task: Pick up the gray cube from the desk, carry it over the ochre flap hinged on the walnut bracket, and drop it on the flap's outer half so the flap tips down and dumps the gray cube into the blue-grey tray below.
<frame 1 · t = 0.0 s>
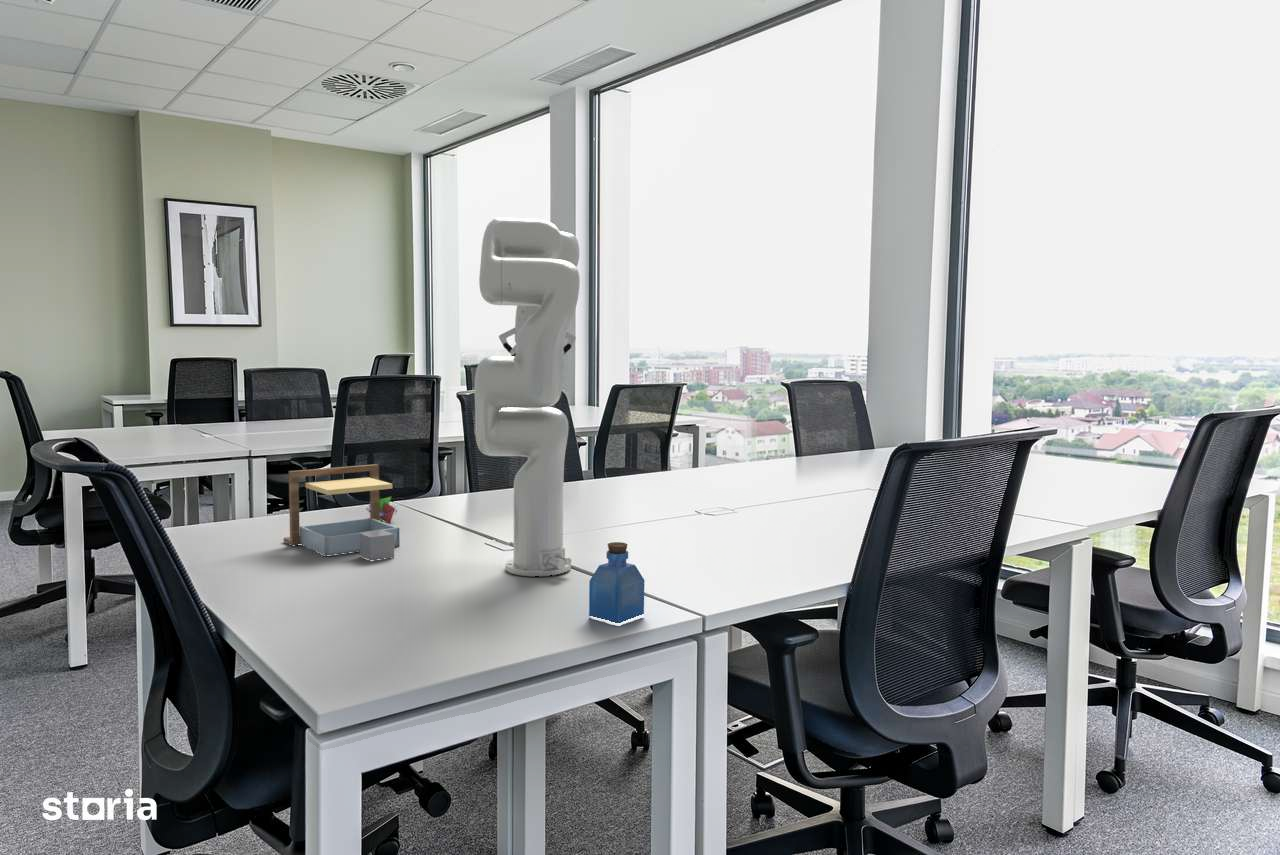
hand: (537, 372, 195), 37 cm above the table, tool pointing down, fingers open, 9 cm apart
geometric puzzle: (382, 523, 208), on the table
perfume bottle: (616, 619, 136), on the table
flap: (348, 485, 182), point 13 cm above the table, hinge at 0.0°
tray: (349, 545, 183), on the table
gray cube: (377, 557, 173), on the table
bracket: (337, 540, 188), on the table
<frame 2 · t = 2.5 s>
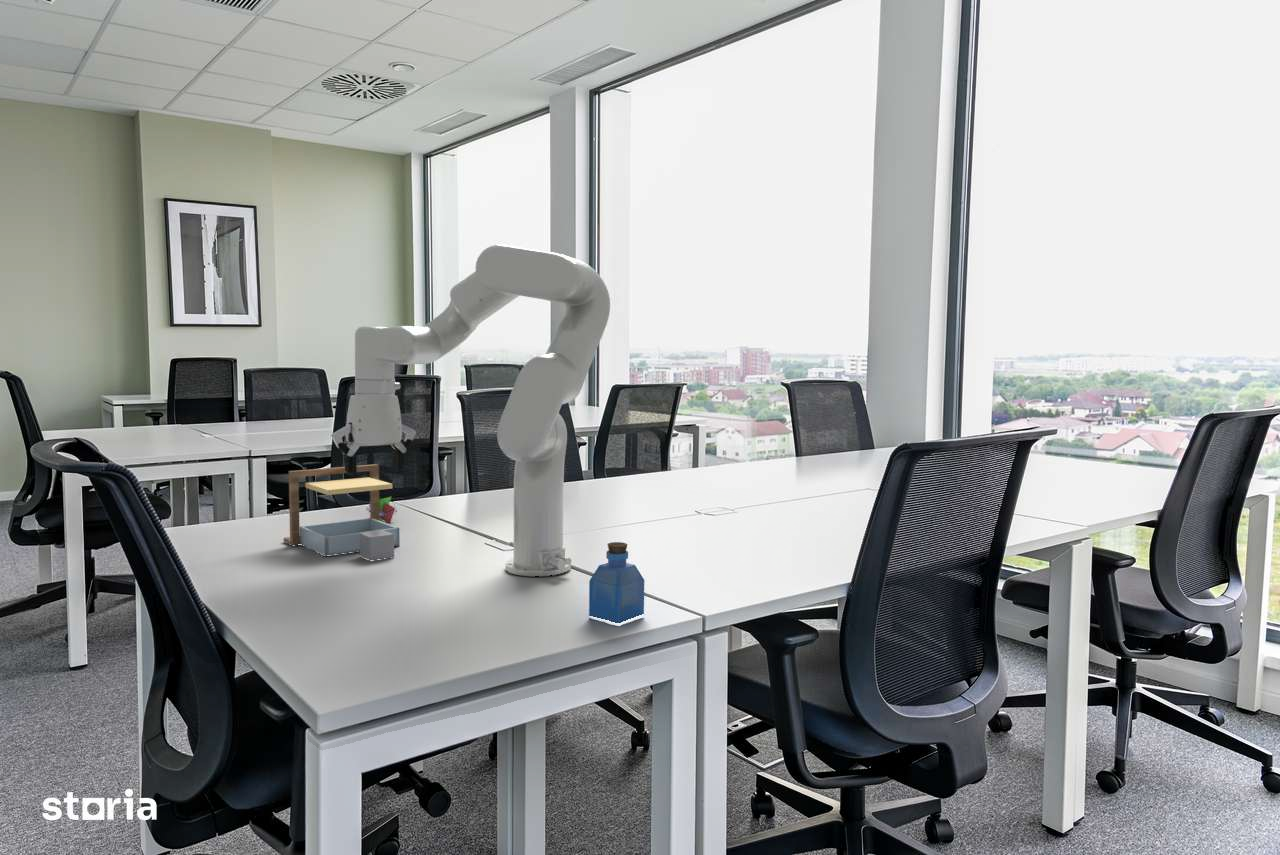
hand: (374, 473, 172), 17 cm above the table, tool pointing down, fingers open, 9 cm apart
nothing on the table moved.
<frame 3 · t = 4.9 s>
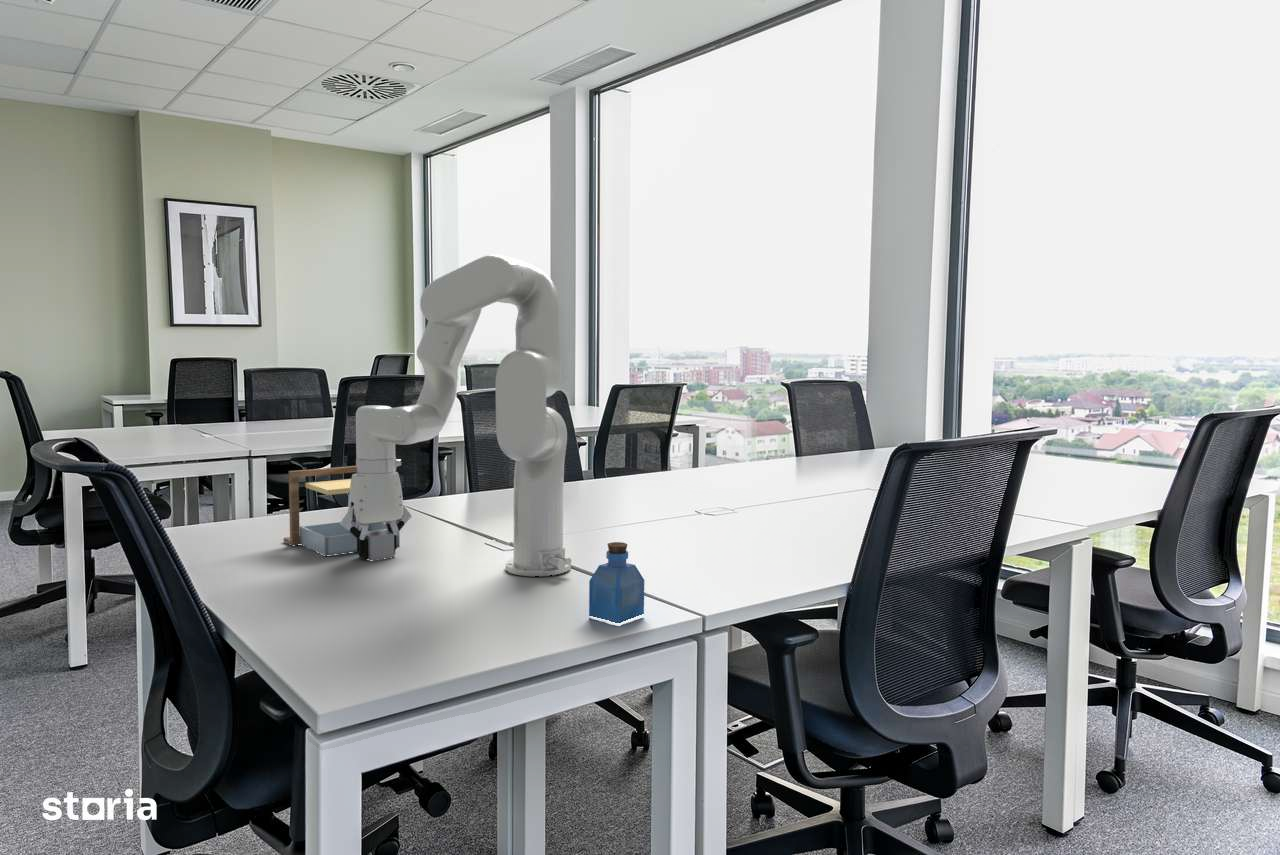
hand: (377, 554, 173), 1 cm above the table, tool pointing down, fingers closed on gray cube, 5 cm apart
gray cube: (377, 557, 173), on the table, touching gripper
everything else where it was.
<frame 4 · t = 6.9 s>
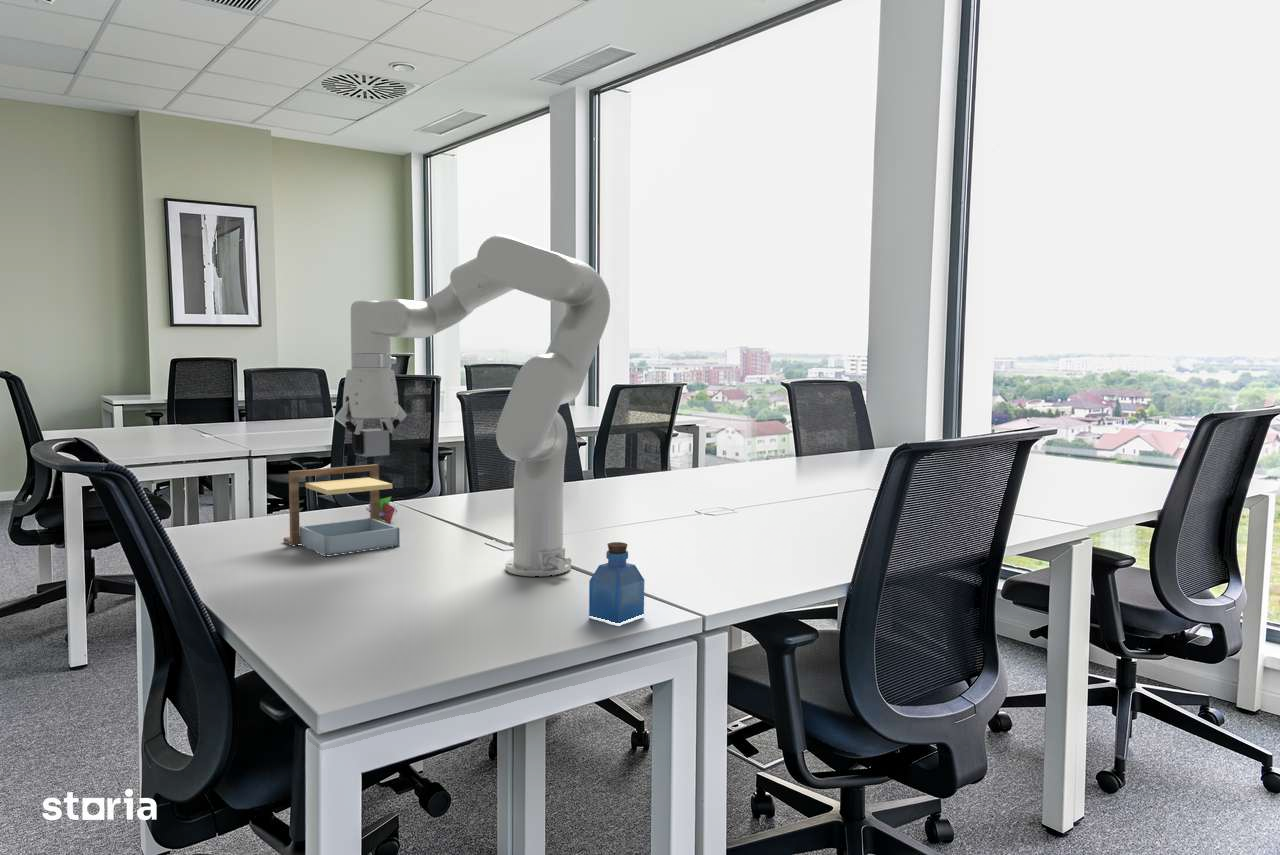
hand: (372, 452, 173), 21 cm above the table, tool pointing down, fingers closed on gray cube, 5 cm apart
gray cube: (372, 454, 173), point 21 cm above the table, touching gripper
everything else where it was.
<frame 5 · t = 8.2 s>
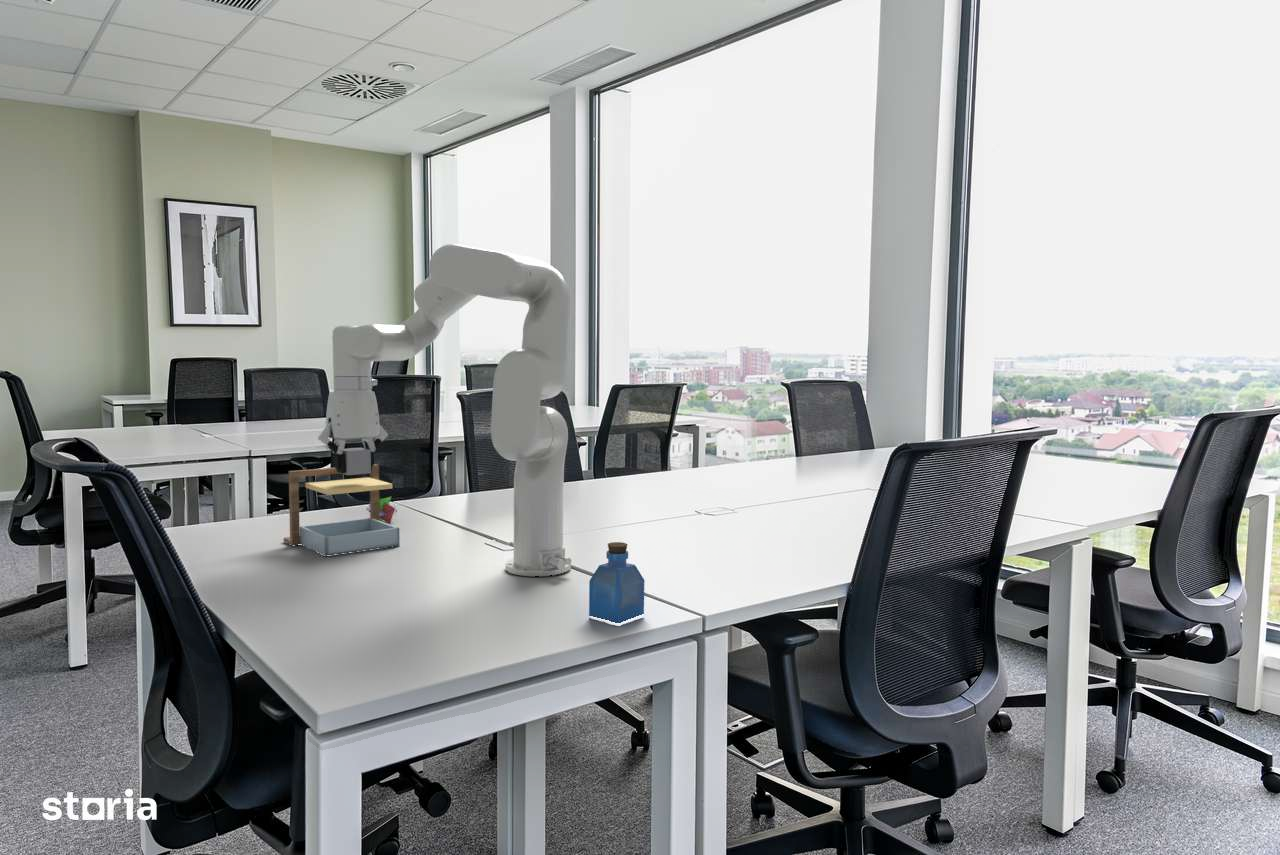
hand: (354, 470, 180), 17 cm above the table, tool pointing down, fingers closed on gray cube, 5 cm apart
gray cube: (354, 473, 180), point 16 cm above the table, touching gripper
everything else where it was.
when the fingers open (17 cm above the table, at t = 8.7 s): gray cube drops 11 cm and tips over, resting on flap, tray.
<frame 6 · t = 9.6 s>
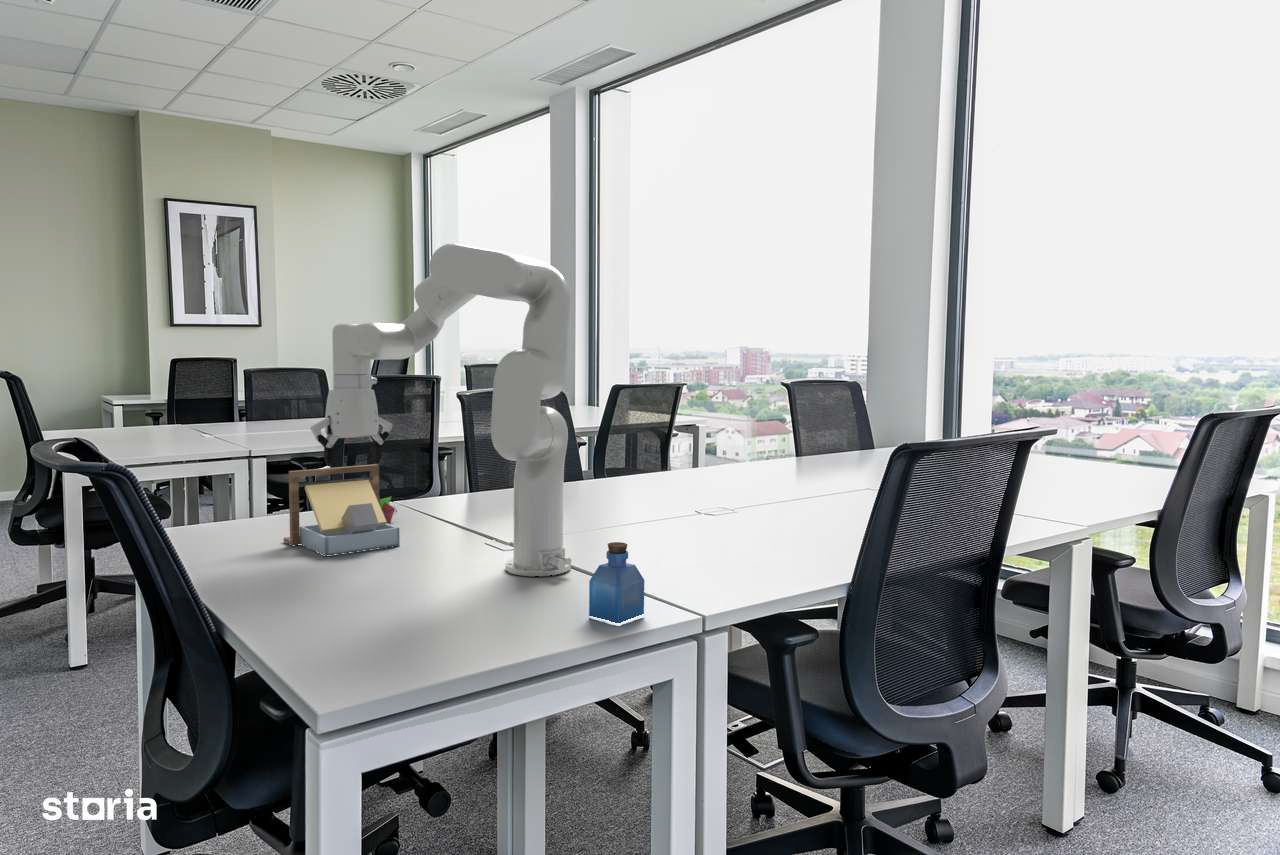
hand: (353, 464, 180), 18 cm above the table, tool pointing down, fingers open, 9 cm apart
flap: (345, 505, 184), point 9 cm above the table, hinge at -42.6°, touching gray cube
gray cube: (356, 527, 181), point 5 cm above the table, tilted 49°, touching flap, tray
everything else where it was.
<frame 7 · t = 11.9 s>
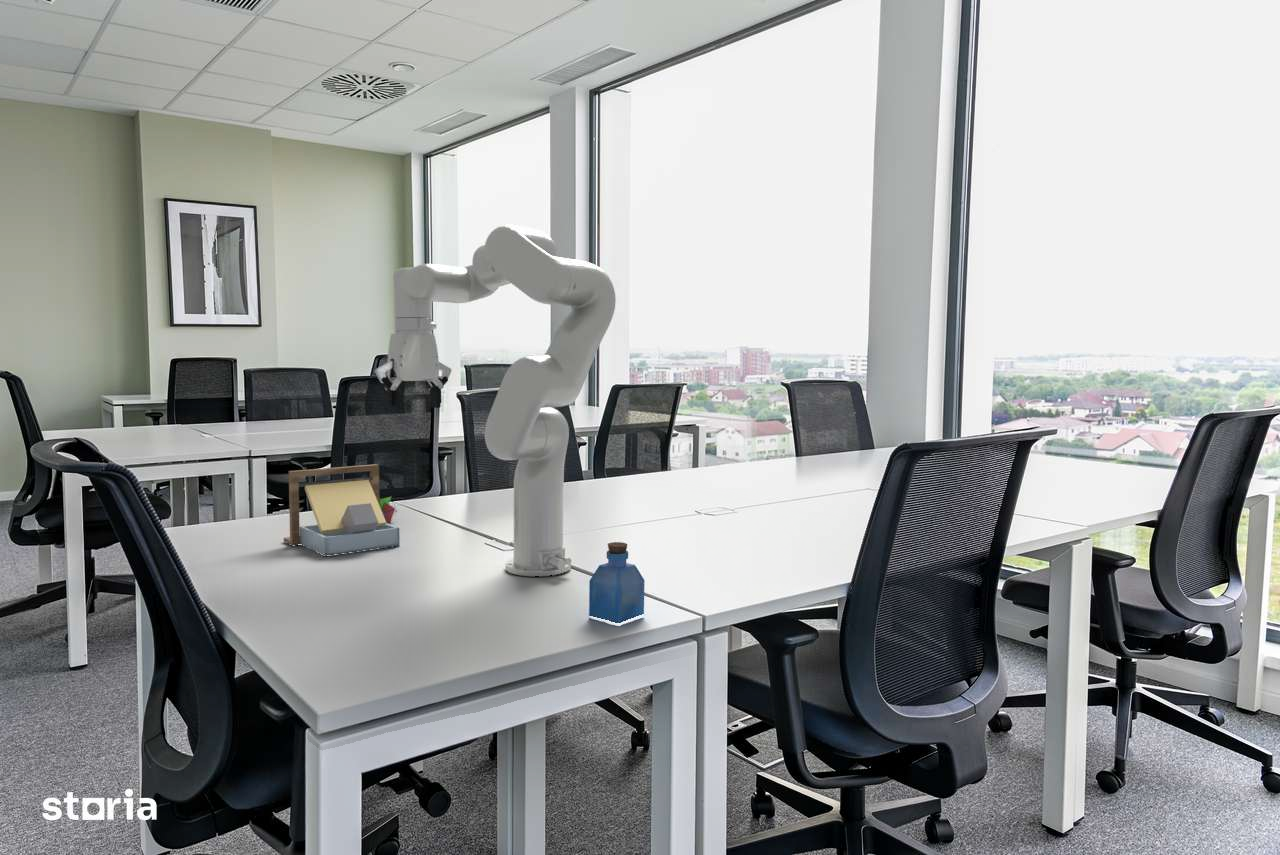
hand: (415, 408, 182), 30 cm above the table, tool pointing down, fingers open, 9 cm apart
flap: (345, 505, 184), point 8 cm above the table, hinge at -43.8°, touching gray cube
everything else where it was.
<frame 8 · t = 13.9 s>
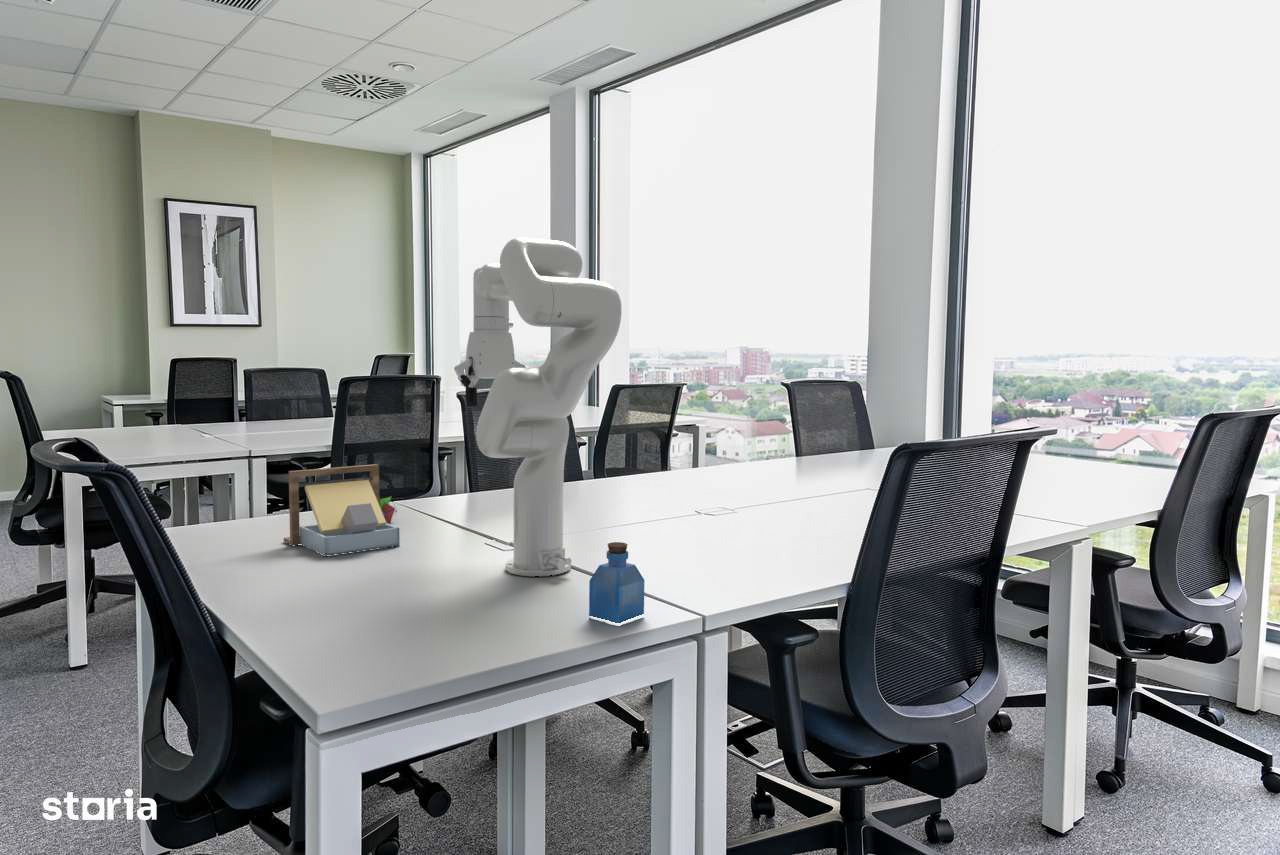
hand: (491, 405, 185), 30 cm above the table, tool pointing down, fingers open, 9 cm apart
nothing on the table moved.
at the end: gray cube point 4.3 cm above the table; gray cube inside the target area on the tray (3.2 cm from its centre), point 4.3 cm above the tray's base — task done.
